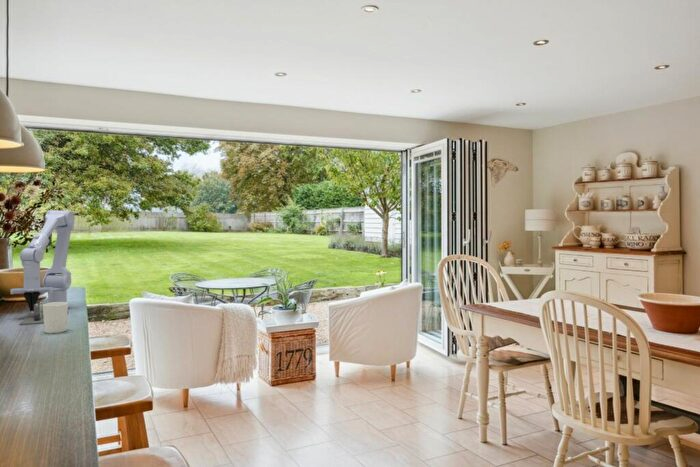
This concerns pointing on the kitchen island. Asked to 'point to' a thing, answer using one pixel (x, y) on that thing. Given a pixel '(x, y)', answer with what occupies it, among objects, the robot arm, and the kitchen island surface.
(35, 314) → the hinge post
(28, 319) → the mat
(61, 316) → the white cup
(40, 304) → the pale green slotted bar
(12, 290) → the robot arm
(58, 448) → the kitchen island surface
